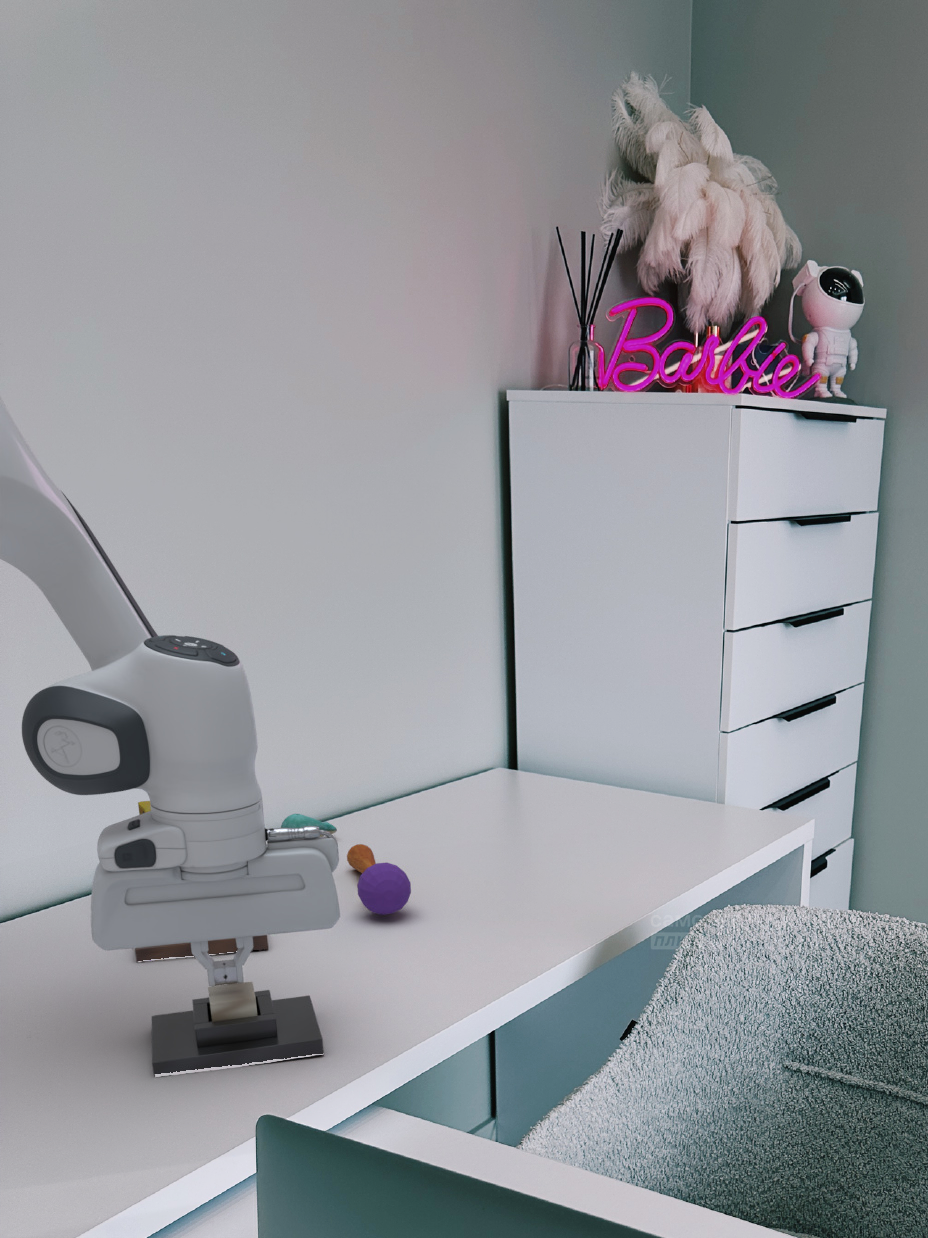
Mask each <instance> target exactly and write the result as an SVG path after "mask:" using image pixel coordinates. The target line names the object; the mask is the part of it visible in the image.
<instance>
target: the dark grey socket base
mask: <svg viewBox="0 0 928 1238" xmlns="http://www.w3.org/2000/svg"><path fill="white" fill-rule="evenodd" d="M254 992H255V997H256V1006H257V1015H258V1016H253V1017H245V1018H237V1019H230V1020H222V1021H215V1022H212V1017H211V1009H210V1001H209V996H207V997H201V998H193V999H192V1010H186V1011H179V1012H169V1013H163V1014H155V1015H151V1065H152V1073H153V1075H154V1074H161V1073H170V1072H171V1073H173V1072H176V1071H177V1072H180V1071H186V1070H195V1069H197V1070H198V1069H204V1068H211V1067H222V1066H228V1065H230V1066H232V1065H242V1064H245V1063H247V1064H249V1063H252V1062H263V1061H267V1060H273V1059H284V1058H285V1059H287V1058H291V1057H298V1056H306V1055H312V1054H323V1053H324V1054H325V1051H324V1050H325V1049H324V1039H323V1036H322V1033H321V1028H320V1026H319V1022H318V1019H317V1016H316V1012H315V1008H314V1006H313V1005H314V1004H313V1001H312V999H311V995H302V996H295V997H287V998H280V999H272V995H271V990H270V989H265V990H257V991H254Z"/></svg>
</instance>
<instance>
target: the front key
mask: <svg viewBox="0 0 928 1238" xmlns="http://www.w3.org/2000/svg"><path fill="white" fill-rule="evenodd" d="M254 987H255V986H254V982H253V981H246V982H245V981H244V983H237V984H227V985H226V984H225V985H218V986H208V987H207V990H208V991H207V992H208V997H209V1001H210V1009H211V1017H212V1022H215V1021H222V1020H230V1019H237V1018H245V1017H253V1016H258V1015H257V1006H256V997H255V992H256V991H255V989H254Z"/></svg>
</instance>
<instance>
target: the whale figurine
mask: <svg viewBox="0 0 928 1238" xmlns="http://www.w3.org/2000/svg"><path fill="white" fill-rule="evenodd" d="M305 826H317V827H319V830H324V831H327V832H329V833H331V834H332V835H333V834H335V833H337V832H338V828H337V827H336V826H335V825H333V824H331V823H330V822H328V821H321V820H318V819H316V818H314V817H311V816H307V815H304V814H301V813H292V814H290V815H288V816H286V817H285V818H284V819H283V821H282V822H281V825H280V828H303V827H305ZM320 837H325V835H321V834H320ZM298 839H299V838H298Z"/></svg>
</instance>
